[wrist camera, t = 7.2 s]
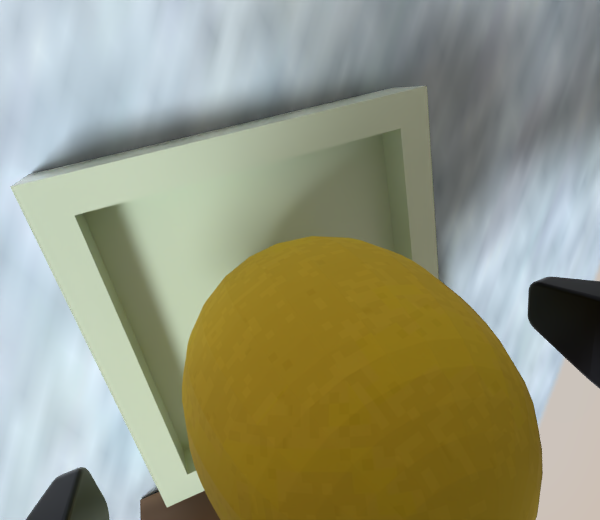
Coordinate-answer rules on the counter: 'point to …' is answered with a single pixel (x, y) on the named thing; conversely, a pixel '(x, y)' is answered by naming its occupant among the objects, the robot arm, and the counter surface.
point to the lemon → (354, 394)
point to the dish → (219, 235)
